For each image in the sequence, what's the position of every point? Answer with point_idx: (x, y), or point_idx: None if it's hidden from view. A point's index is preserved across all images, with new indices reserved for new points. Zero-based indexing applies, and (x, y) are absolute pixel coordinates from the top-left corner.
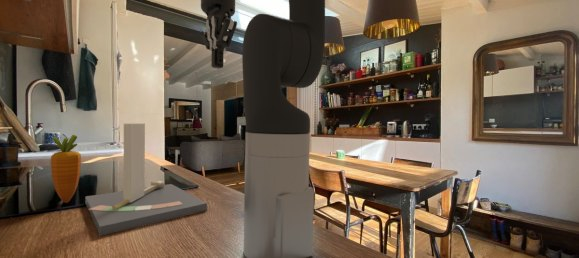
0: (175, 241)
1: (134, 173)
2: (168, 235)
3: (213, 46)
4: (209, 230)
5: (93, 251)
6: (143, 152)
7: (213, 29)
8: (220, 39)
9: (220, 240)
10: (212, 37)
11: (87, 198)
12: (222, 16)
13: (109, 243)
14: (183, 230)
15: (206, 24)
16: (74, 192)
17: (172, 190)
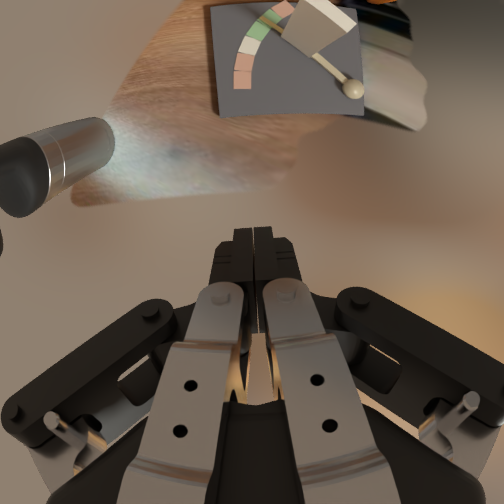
0: (151, 68)
1: (293, 32)
2: (169, 63)
3: (227, 290)
4: (157, 102)
5: (176, 9)
6: (324, 42)
7: (179, 411)
8: (120, 322)
9: (130, 106)
10: (226, 344)
11: (343, 8)
12: (56, 496)
13: (186, 18)
14: (173, 78)
15: (390, 494)
16: (373, 3)
17: (320, 100)
